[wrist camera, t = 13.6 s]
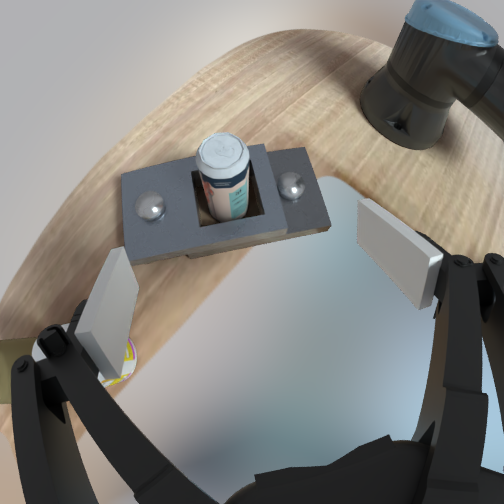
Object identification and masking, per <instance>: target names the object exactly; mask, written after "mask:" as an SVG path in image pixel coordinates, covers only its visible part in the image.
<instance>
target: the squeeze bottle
mask: <svg viewBox="0 0 504 504" xmlns="http://www.w3.org/2000/svg"><path fill="white" fill-rule="evenodd" d="M36 339H37V338H36V337H34V338H21V339H9V340H0V404H11V368H12V366H13V364H14V362H15V361H16V360H17V359H18V358H20V357H21V356H23V355H30V356H32V349H33V345H34V343H35V341H36Z"/></svg>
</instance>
